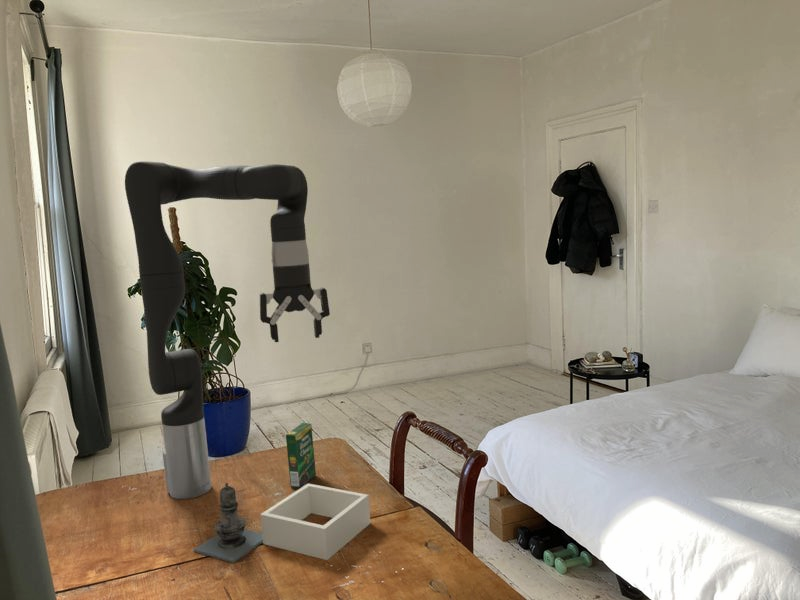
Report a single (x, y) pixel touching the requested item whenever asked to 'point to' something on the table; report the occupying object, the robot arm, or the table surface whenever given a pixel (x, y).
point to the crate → (312, 538)
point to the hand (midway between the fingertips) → (297, 339)
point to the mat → (235, 553)
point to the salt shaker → (230, 520)
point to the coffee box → (300, 455)
